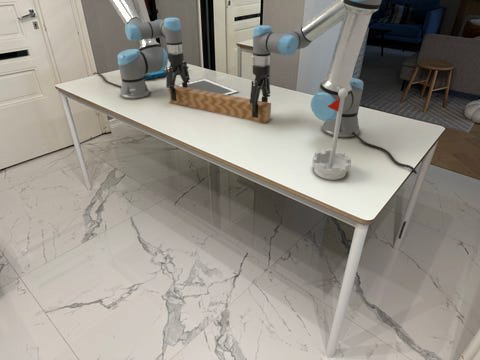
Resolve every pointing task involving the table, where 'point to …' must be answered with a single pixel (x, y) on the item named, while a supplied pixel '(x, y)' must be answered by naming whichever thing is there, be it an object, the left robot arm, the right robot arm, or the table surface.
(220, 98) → the post
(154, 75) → the submachine gun
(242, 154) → the table surface
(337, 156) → the flag stand
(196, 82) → the tablet
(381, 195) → the table surface
